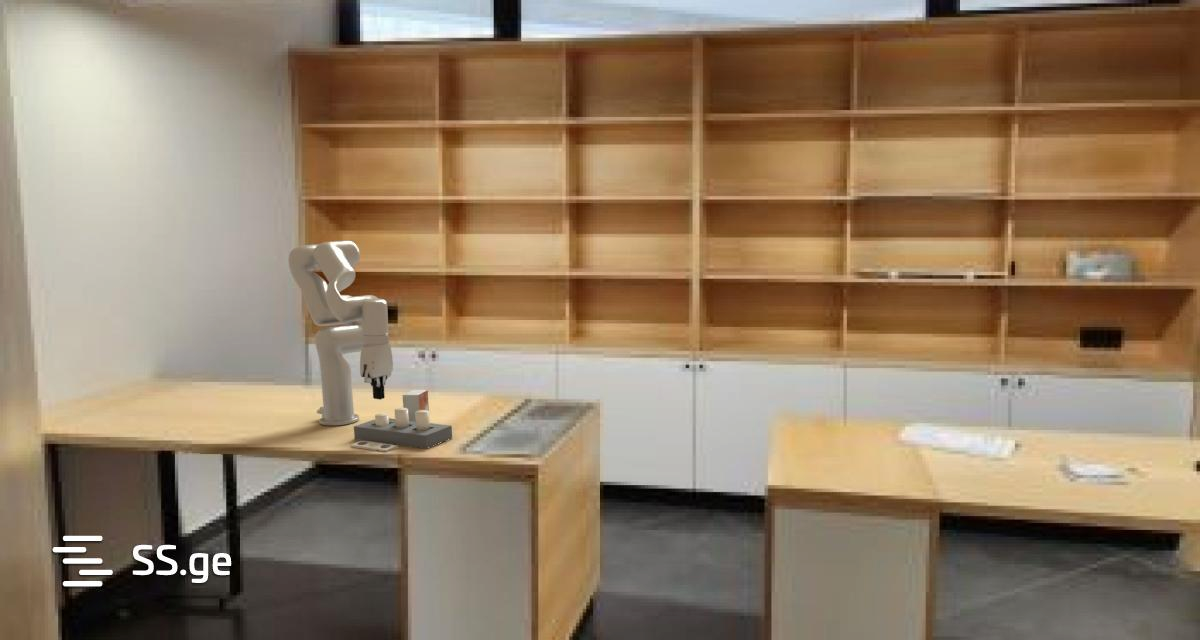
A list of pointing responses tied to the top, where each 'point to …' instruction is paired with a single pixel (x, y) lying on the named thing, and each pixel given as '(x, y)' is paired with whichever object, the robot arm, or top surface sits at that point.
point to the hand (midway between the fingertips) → (378, 398)
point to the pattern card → (373, 446)
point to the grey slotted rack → (403, 434)
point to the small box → (415, 402)
